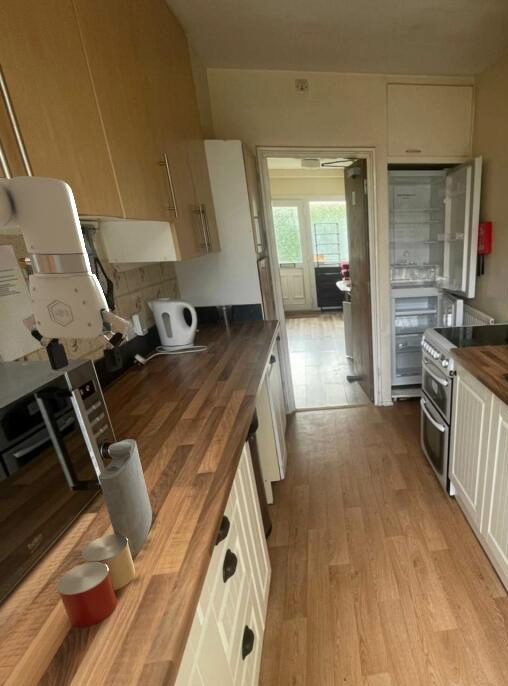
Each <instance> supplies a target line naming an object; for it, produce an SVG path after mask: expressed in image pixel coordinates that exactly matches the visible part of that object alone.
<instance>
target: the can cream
mask: <svg viewBox="0 0 508 686" xmlns="http://www.w3.org/2000/svg"><path fill="white" fill-rule="evenodd" d="M81 557H82V559H83V561H84V564H85V563H90V562H101V563H104V564H106V565H107V567H108V572H109V576H110V579H111V582H112V586H113V589H114V592H115V591H117V590H120V589H121V588H123V587H125V586H127V585H128V584H129V583H130V582H132V581H133V579H134V577H135V575H136V569H135V564H134V561H133V557H131V553H130V549H129V545H128V539H127V538H126V537H125V536H123V535H119V534H114V533H113V534H107V535H103V536H101V537H98V538H96V539H94V540H92V541H91V542H89V543H88V544H87V545H86V546H85V547H84V548H83V549H82V551H81Z"/></svg>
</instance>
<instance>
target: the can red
mask: <svg viewBox="0 0 508 686" xmlns="http://www.w3.org/2000/svg"><path fill="white" fill-rule="evenodd" d="M56 582H57V583H56V590H57V592H58V594H59V596H60V600H61V601H62V602H61V603H62V605H63V607H64V609H65V613H66V615H67V618H68V620H69V623H70V625H72V626H74V627H77V628H84V627H85V628H86V627H91V626H94V625H96V624H99V623H100V622H103V621H104V620H105V619H107V618H108V617H110V615H111V614H113V612H114V611H115V609H116V608H117V604H118V599H117V595H116V593H115V591H114V589H113V586H112V582H111V579H110V576H109V572H108V567H107V565H106V564H104V563H101V562H90V563H85V562H84V563H82V564H79V565H77V566H74V567H73V568H71V569H69V570H68V571H66V572H65V573H63V575H61V576H60V578H59V579H58V581H56Z"/></svg>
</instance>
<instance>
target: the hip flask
mask: <svg viewBox="0 0 508 686" xmlns="http://www.w3.org/2000/svg"><path fill="white" fill-rule="evenodd" d="M108 451H109V453H110V455H111V458H112V459H111V461H110V462H109V464H108V465H107V466H106V468H104V469H103V471H102V472H101V473H100V474H99V475H98V480H99V484H100V488H101V491H102V495H103V498H104V502H105V506H106V509H107V513H108V517H109V520H110V523H111V526H112V531H113V534H119V535H123V536H125V537H126V538H127V539H128V545H129V549H130V553H131V557H132V558H133V557H135V556H136V555H138V554H139V552H140V550H141V549H142V548H143V546H144V544H145V543H146V540H147V537H148V535H149V532H150V529H151V527H152V526H151V525H152V521H153V511H152V506H151V502H150V498H149V494H148V490H147V485H146V480H145V475H144V472H143V468H142V467H143V466H142V463H141V459H140V455H139V449H138V445H137V442H136V440H135V439H133V438H127V439H123V440H121V441H119V442H114V443H112V444H111V445H109V446H108Z"/></svg>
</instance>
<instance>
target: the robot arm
mask: <svg viewBox="0 0 508 686" xmlns="http://www.w3.org/2000/svg"><path fill="white" fill-rule="evenodd" d="M77 211H78V210H77V207H76V203H75V199H74V194H73V192H72V189H71V187H70V186H69V184H68V183H67V182H65V181H64V180H62V179H59V178H54V177H48V176H47V177H46V176H35V175H19V176H18V175H17V176H14V177H12V178H7V177H0V230H7V229H8V230H9V229H17V228H20V231H21V233H22V237H23V241H24V244H25V247H26V251H27V255H28V256H26V257H25V258H24V263H25V265H27V266H29V267H31V269H32V272H33V274H29V275H28V287H29V297H30V304H31V309H32V314H30V315H29V316H27V317H25V318H23V319H22V323H23V325H24V326H25V327H26V328H27V330H28V331H29V332H30V335H31V336H32V338H34V339H35V340H36V341H38V342H39V345H40V347H42V348H45V350H46V353H47V357H48V360H49V363H50V367H51V370H52V371H59V370H61V369H63V368H65V367H68V366H69V364H70V363H69V360H68V356H67V352H66V349H65V346H64V343H60V341H61V339H67V340H93V339H96V340H97V341H99V342H100V343H101V344H102V345H103V346H104V347H105V348H104V349H103V350H102V351H103V357H104V360H105V364H106V369H107V372H109V373H114V372H116V371H118V370H120V369H122V368H123V358H122V354H121V348H120V346H122V344H123V342H124V340H125V339H126V338H127V336H128V334H127V333H128V331H129V328H130V322H129V321H128V320H126V319H124V318H122V317H120V316H118V315H116V314H114V313H112V312H110V310H109V306H108V303H107V300H106V297H105V295H104V293H103V289H102V287H101V285H100V282H99V280H98V279H97V276H96V274H94V273H92V271H91V267H90V262H89V257H88V253H87V250H86V249H87V248H86V246H85V242H84V238H83V233H82V229H81V224H80V220H79V215H78V212H77ZM113 326H114V327H115V333H114V332H113Z"/></svg>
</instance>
